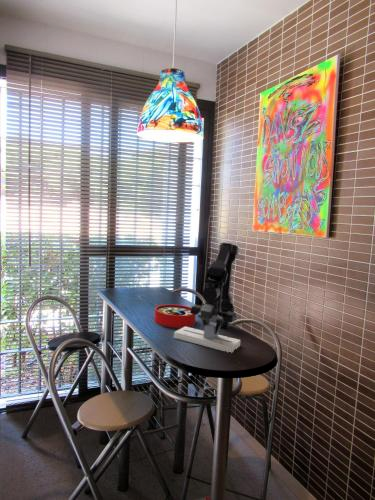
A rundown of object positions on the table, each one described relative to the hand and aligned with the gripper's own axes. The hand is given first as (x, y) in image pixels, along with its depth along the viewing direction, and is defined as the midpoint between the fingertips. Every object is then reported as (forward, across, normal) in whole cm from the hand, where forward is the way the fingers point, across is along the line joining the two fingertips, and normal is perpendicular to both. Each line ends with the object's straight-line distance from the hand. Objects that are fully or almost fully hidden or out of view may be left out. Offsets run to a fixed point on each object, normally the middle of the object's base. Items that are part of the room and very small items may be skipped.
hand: (211, 333), depth 150 cm
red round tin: (+5, -26, +16) cm, 31 cm away
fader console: (+4, -2, 0) cm, 4 cm away
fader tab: (+1, 0, 0) cm, 1 cm away
